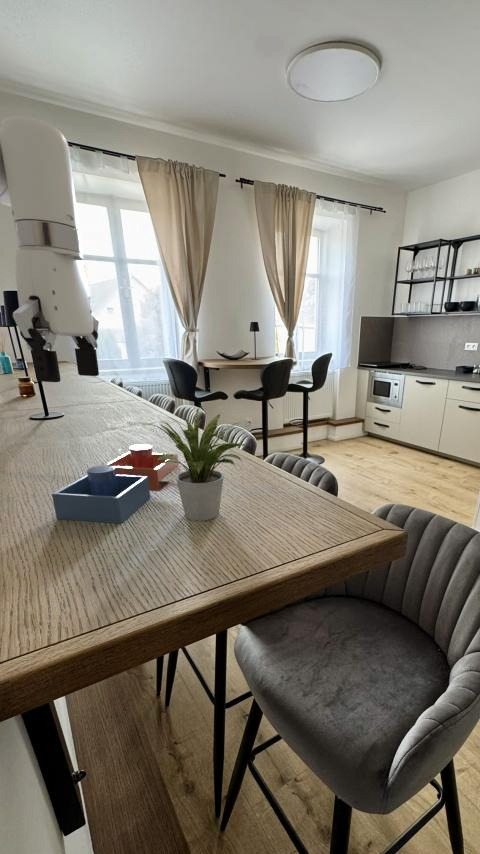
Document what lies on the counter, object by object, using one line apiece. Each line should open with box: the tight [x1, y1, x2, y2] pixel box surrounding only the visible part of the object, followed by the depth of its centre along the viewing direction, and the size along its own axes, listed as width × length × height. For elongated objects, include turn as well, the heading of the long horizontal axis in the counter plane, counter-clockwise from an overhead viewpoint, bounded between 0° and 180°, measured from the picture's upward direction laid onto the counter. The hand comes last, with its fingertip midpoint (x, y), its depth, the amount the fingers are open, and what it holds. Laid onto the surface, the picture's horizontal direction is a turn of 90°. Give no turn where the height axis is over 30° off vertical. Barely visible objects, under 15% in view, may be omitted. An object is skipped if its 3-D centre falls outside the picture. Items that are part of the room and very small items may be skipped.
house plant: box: [146, 406, 247, 522], centre depth 60 cm, size 14×14×16 cm
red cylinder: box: [129, 444, 155, 468], centre depth 77 cm, size 4×4×6 cm
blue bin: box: [51, 474, 151, 524], centre depth 65 cm, size 10×10×4 cm
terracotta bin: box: [103, 451, 179, 492], centre depth 78 cm, size 10×10×4 cm
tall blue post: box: [86, 465, 119, 497], centre depth 64 cm, size 4×4×6 cm
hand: (70, 378), depth 61 cm, fingers open, 9 cm apart
